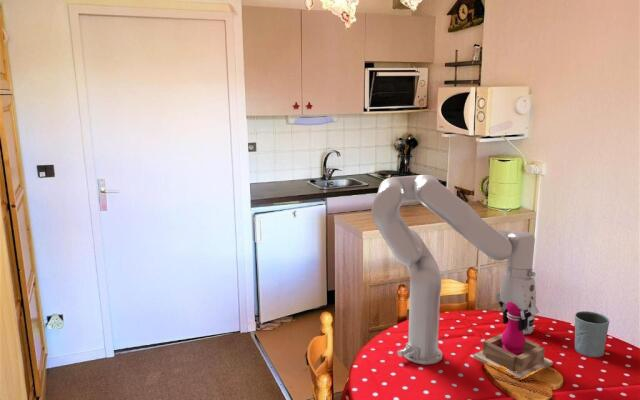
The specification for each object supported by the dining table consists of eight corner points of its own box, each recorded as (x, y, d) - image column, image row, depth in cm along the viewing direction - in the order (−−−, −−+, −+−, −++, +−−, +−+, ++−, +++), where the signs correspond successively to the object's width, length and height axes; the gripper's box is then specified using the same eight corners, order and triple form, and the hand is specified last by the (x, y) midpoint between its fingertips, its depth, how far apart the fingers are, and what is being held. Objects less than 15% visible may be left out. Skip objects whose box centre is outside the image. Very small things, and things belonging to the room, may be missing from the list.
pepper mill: (526, 359, 155) (531, 299, 151) (502, 357, 156) (506, 297, 152) (522, 348, 162) (527, 290, 158) (498, 346, 163) (503, 288, 159)
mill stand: (519, 381, 148) (520, 364, 147) (473, 357, 162) (474, 341, 161) (552, 364, 157) (553, 348, 156) (506, 343, 171) (507, 328, 170)
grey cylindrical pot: (597, 361, 159) (601, 326, 157) (566, 349, 167) (569, 316, 164) (610, 351, 165) (614, 317, 163) (579, 340, 173) (582, 308, 171)
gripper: (551, 277, 149) (546, 333, 152) (502, 262, 163) (499, 314, 166) (536, 282, 145) (531, 339, 148) (488, 266, 158) (484, 319, 162)
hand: (514, 325), depth 157 cm, fingers closed on pepper mill, 5 cm apart
